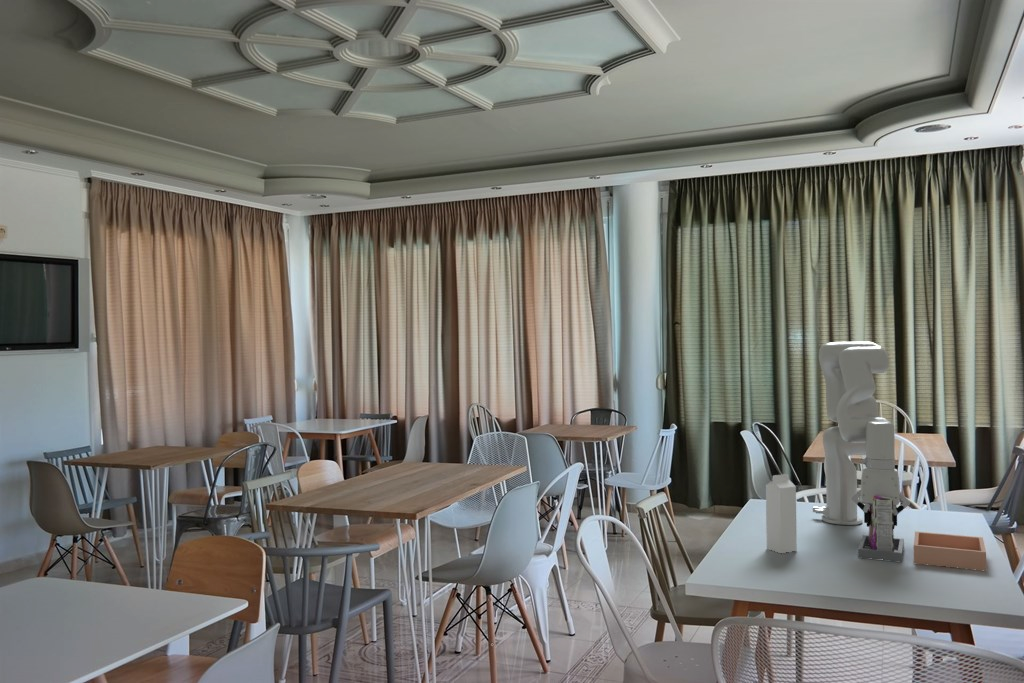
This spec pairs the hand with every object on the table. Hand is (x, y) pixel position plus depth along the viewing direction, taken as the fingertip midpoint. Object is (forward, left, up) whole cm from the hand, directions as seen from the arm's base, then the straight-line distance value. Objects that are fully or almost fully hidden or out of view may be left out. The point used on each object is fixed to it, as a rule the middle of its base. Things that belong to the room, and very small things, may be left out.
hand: (880, 526), depth 231 cm
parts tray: (0, 0, -7) cm, 7 cm away
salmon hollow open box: (+17, 0, -7) cm, 19 cm away
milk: (-26, -9, -8) cm, 29 cm away
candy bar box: (0, 0, -7) cm, 7 cm away
